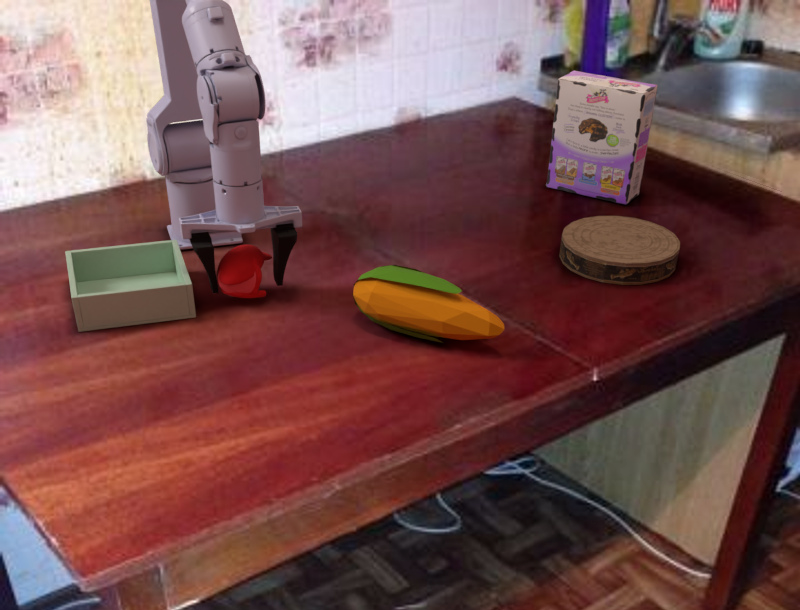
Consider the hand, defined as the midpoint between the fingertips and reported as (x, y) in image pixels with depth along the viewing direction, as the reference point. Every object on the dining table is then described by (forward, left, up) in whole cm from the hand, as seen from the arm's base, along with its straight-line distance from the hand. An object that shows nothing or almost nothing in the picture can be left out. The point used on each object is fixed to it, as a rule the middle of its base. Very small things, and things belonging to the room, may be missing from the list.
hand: (246, 286), depth 123 cm
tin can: (-51, +2, -2) cm, 51 cm away
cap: (+1, 0, -1) cm, 1 cm away
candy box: (-59, -22, -2) cm, 63 cm away
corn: (-19, +15, -2) cm, 24 cm away
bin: (+14, -3, -2) cm, 14 cm away
